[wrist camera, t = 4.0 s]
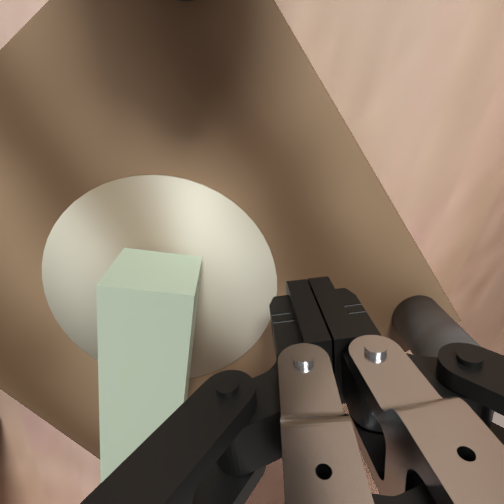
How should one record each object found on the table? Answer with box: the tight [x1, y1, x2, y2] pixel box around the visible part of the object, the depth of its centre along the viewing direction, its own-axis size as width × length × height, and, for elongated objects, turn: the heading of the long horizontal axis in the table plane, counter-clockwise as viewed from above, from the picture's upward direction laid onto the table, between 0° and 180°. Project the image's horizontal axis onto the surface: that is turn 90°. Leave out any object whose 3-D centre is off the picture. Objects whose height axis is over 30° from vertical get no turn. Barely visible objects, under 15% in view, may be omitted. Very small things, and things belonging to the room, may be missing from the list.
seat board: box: [0, 0, 479, 459], centre depth 12 cm, size 18×18×8 cm
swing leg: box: [96, 248, 202, 483], centre depth 14 cm, size 11×3×3 cm, turn 171°
